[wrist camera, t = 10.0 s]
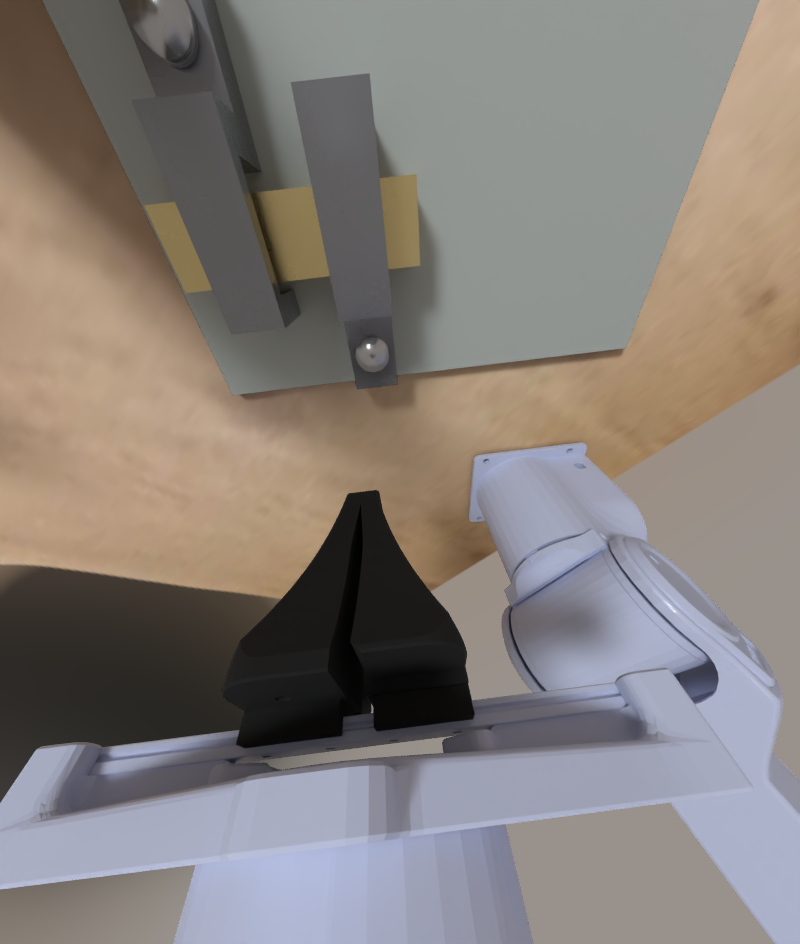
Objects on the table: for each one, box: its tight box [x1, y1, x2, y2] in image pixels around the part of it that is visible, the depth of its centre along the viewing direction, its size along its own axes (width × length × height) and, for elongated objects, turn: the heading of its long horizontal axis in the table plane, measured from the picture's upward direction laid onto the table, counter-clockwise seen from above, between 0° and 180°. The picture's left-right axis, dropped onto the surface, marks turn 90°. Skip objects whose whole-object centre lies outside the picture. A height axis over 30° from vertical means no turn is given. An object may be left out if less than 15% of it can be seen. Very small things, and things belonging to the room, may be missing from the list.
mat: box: [42, 0, 759, 395], centre depth 14 cm, size 26×15×1 cm, turn 95°
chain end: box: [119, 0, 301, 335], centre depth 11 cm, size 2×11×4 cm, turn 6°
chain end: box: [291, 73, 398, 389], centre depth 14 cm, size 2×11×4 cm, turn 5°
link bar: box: [144, 174, 420, 293], centre depth 13 cm, size 11×3×2 cm, turn 95°
